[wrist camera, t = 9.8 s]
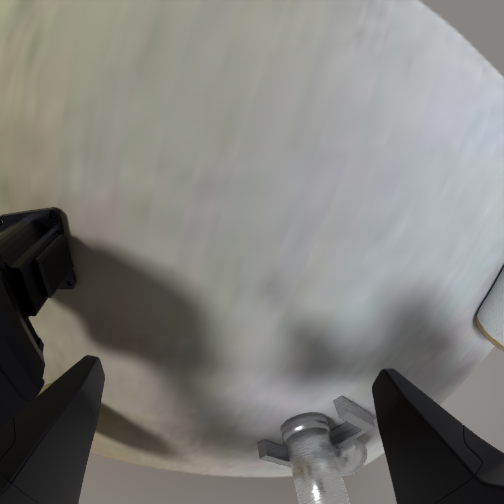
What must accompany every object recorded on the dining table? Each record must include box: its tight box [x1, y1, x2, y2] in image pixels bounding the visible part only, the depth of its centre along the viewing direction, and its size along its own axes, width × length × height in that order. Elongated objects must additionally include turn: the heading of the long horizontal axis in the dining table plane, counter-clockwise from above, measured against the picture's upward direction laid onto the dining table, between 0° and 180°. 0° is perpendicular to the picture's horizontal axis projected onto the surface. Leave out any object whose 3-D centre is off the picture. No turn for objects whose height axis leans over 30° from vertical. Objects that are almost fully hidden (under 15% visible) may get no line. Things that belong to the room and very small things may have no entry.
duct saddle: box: [257, 396, 375, 476], centre depth 32 cm, size 12×13×6 cm
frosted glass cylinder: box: [281, 413, 350, 504], centre depth 27 cm, size 6×6×13 cm
